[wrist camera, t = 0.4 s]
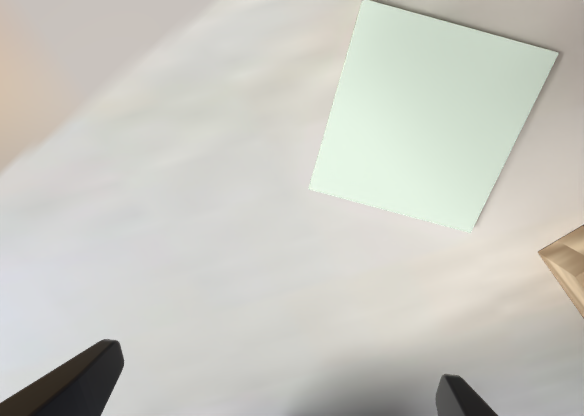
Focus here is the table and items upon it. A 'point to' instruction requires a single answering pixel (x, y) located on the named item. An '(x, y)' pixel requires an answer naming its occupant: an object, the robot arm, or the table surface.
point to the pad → (426, 115)
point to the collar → (568, 265)
